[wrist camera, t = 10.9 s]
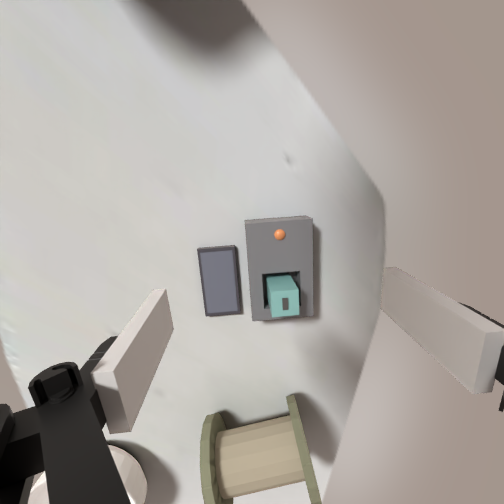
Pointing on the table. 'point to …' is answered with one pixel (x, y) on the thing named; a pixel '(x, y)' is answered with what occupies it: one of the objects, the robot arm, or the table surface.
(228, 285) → the phone
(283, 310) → the block
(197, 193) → the table surface
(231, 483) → the spool
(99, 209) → the table surface
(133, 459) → the bowl
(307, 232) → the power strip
